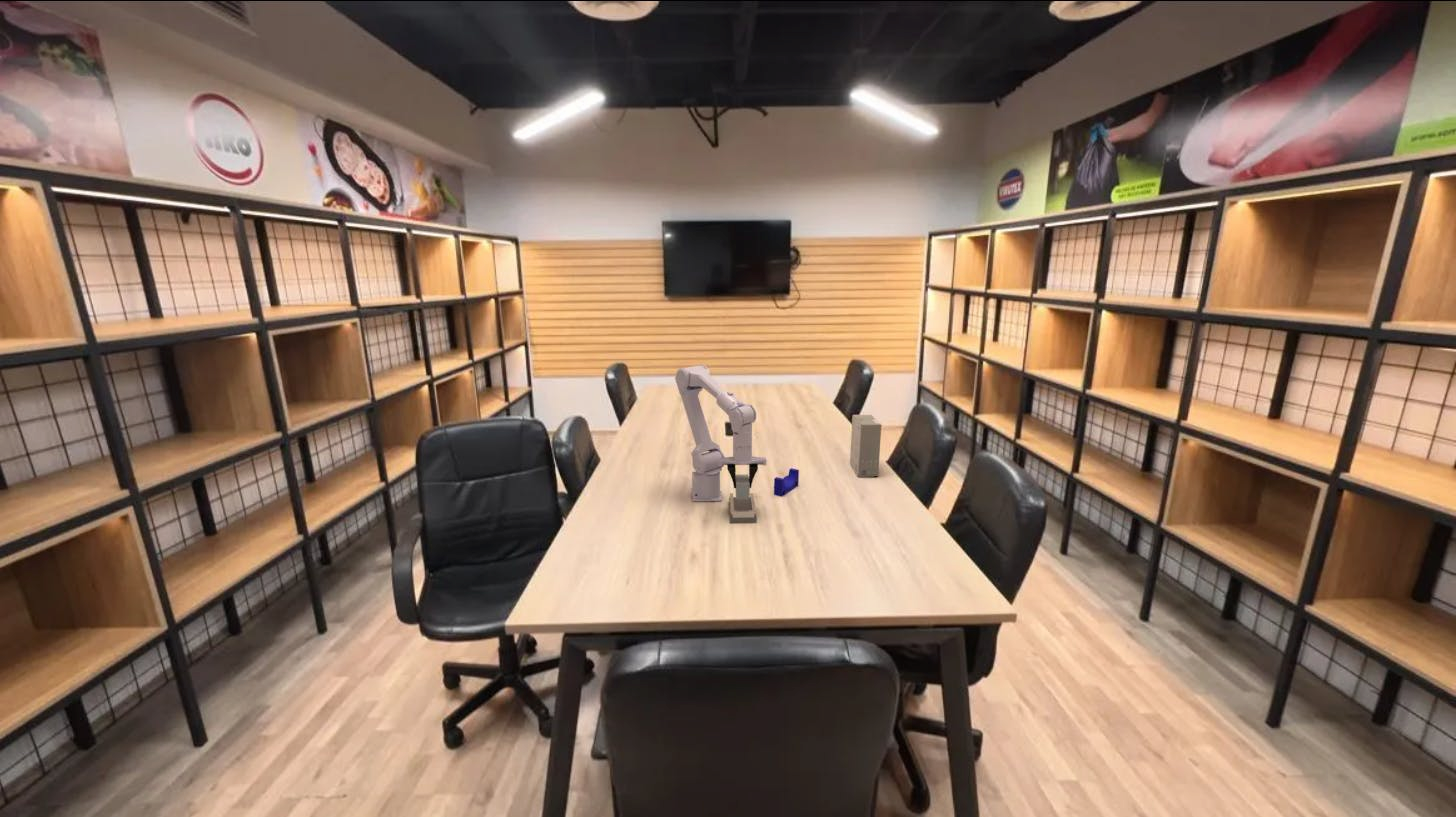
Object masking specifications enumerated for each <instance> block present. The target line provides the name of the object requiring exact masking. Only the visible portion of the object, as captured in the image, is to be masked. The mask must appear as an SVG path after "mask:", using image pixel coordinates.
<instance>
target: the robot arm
mask: <svg viewBox="0 0 1456 817" xmlns="http://www.w3.org/2000/svg"><path fill="white" fill-rule="evenodd" d="M711 374H712V373H711V369H709V368H708V367H707V366H706V365H705V364H700V365H695V366H688V367H687V366H686V367H679V368H678V369H677V371H676V374H675V377H674V379H675V382H676V386H677V388H678V392H679V395H680V398H681V400H682V405H683V407H684V410H685V414H686V417H687V420H688V424H689V427H690V430H691V433H692V438H693V439H694V442H695V446H694V448H693V450H692V451H691V452H690V453H691V458H692V462H691V463H692V467H693V469H694V471H692V474H691V494H692V495H691V497H692V498H691V501H692V502H721V501H722V490H721V472H722V470H723V469H722V468H723V467H724V466H726V467H727V468H726V469H727V471H728V474H729V475H730V478H731V479H732V480H731V481H732V484H733V489H736V475H737V474H736V472H737V470H736V469H737V468H736V466H748V476H749V483H750V489H751V488H752V484H753V481H754V478H755V476H756V474H757V472H758V470H759V466H767V457H760V456H753V423H755V421H756V419H757V411H756V410H755V408H754V407H753V405H752V404H746V403H745V402H743V401H741V400H740V399H739V398H738V397H737V396H736V395H735V393H734V392H733V391H732V390H724V389H723V387H721V385H720V384H719V383H718V382H717V381H716V379H715V378H714V377H713V376H712V375H711ZM703 389H704V390H705V391H706V392H708V393H709V394H710V395H711V396H713V398H715V399H716V405H717V406H718V407H719V408H720V409H721V410H722V411H723V412H725V414H726V415H727V416H728V420H729V421H728V422H730V425H731V431H732V456H728V457H726V456H725V455H724V453H723V451H722V449H721V447H720V444H718V443H716V442H714V441H712V437H711V434H710V430H709V427H708V425H707V422H706V419H705V415H704V411H703V409H702V405H701V402H700V398H699V395H700V392H702V391H703Z"/></svg>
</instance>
